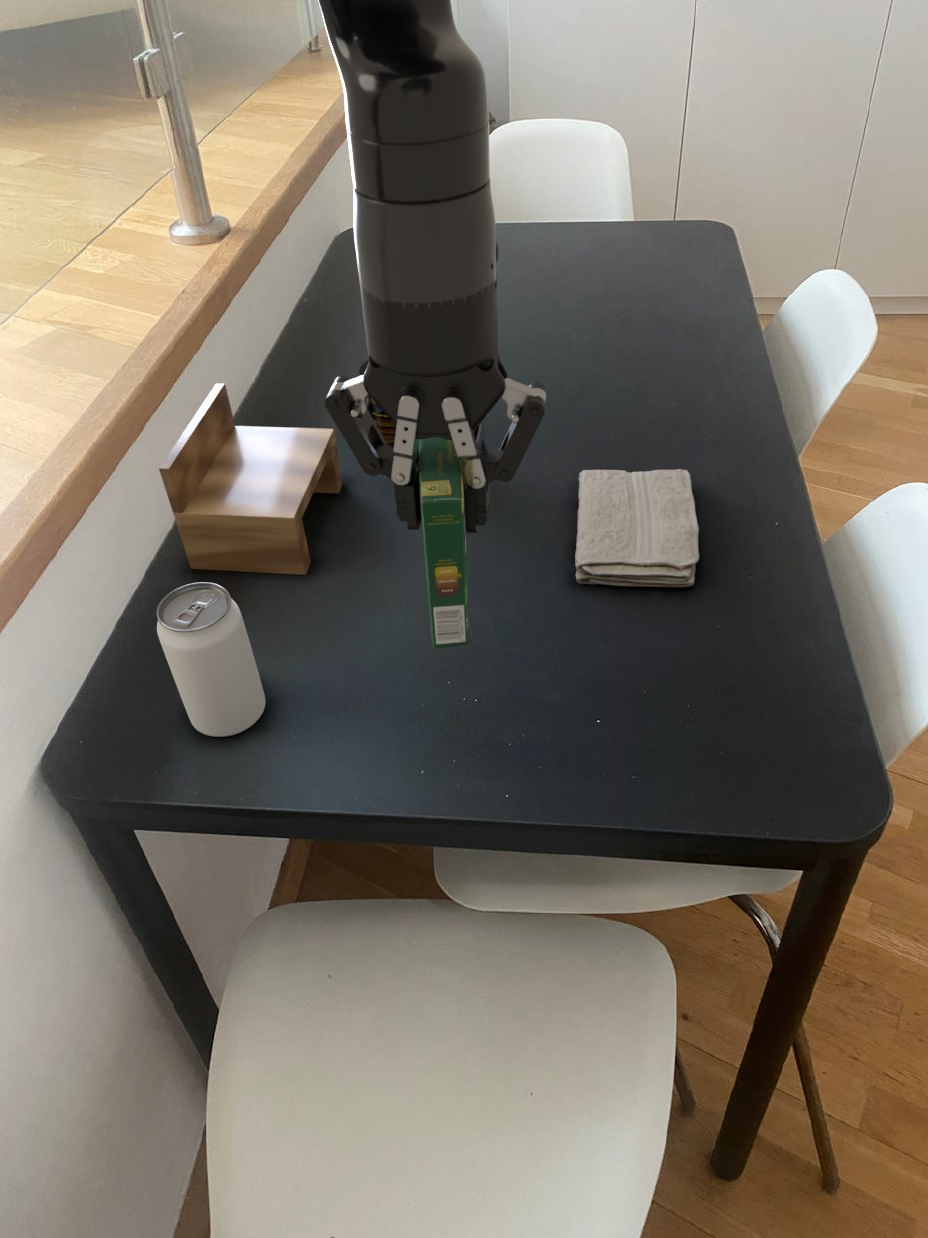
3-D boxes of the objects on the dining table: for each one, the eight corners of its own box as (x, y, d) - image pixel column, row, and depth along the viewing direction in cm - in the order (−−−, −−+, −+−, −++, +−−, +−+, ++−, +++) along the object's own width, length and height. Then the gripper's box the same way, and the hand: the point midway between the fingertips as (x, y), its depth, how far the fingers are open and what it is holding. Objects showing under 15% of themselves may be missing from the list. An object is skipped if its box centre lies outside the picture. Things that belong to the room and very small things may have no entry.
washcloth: (573, 590, 87) (575, 565, 85) (575, 482, 100) (576, 458, 98) (701, 593, 86) (705, 568, 84) (685, 484, 99) (689, 460, 97)
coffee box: (472, 651, 64) (464, 495, 55) (431, 653, 64) (416, 498, 55) (468, 577, 70) (460, 425, 61) (430, 578, 70) (417, 428, 61)
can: (281, 695, 79) (253, 590, 71) (237, 749, 75) (202, 644, 67) (220, 674, 81) (185, 570, 73) (174, 726, 77) (132, 621, 69)
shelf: (306, 575, 91) (284, 473, 83) (190, 569, 93) (158, 468, 84) (343, 483, 103) (327, 385, 94) (240, 479, 104) (216, 383, 96)
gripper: (282, 295, 48) (328, 553, 60) (552, 300, 46) (546, 565, 58) (318, 241, 54) (354, 487, 65) (561, 243, 52) (553, 496, 63)
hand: (444, 523), depth 62 cm, fingers closed on coffee box, 3 cm apart
